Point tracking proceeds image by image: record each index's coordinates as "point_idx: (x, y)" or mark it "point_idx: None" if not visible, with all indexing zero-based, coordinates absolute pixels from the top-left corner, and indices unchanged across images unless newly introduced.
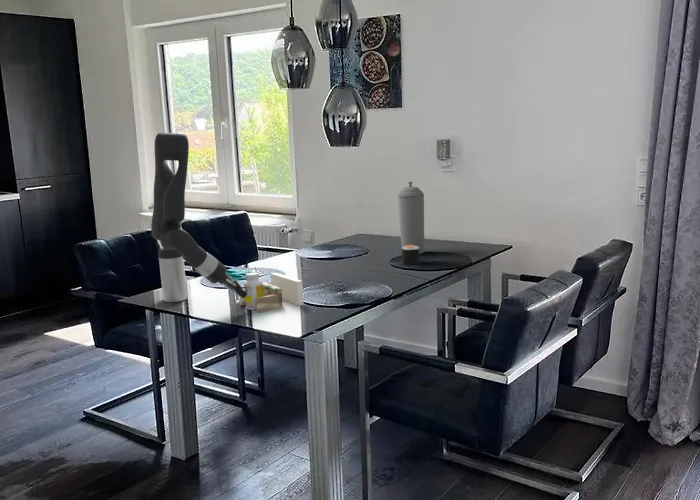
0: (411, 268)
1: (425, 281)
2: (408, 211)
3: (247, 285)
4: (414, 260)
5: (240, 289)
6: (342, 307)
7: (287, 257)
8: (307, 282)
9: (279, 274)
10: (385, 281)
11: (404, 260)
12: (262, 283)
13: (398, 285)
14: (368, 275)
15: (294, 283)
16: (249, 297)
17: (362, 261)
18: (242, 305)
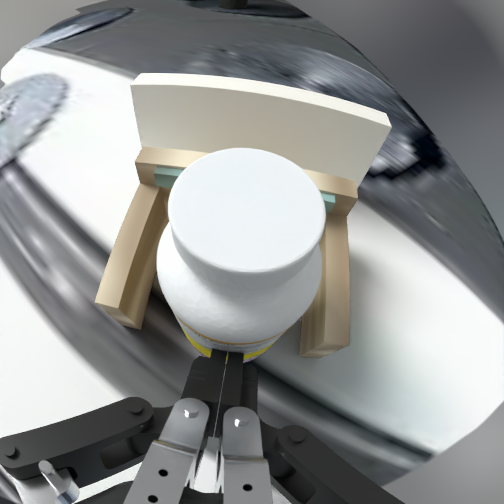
0: (259, 14)
1: (343, 40)
2: None
3: (269, 337)
4: (245, 3)
5: (257, 414)
6: (430, 165)
7: (21, 57)
8: (148, 68)
9: (189, 76)
10: (296, 40)
11: (232, 3)
12: (163, 162)
13: (337, 51)
14: (233, 29)
15: (364, 128)
16: (261, 350)
17: (155, 14)
18: (138, 328)
